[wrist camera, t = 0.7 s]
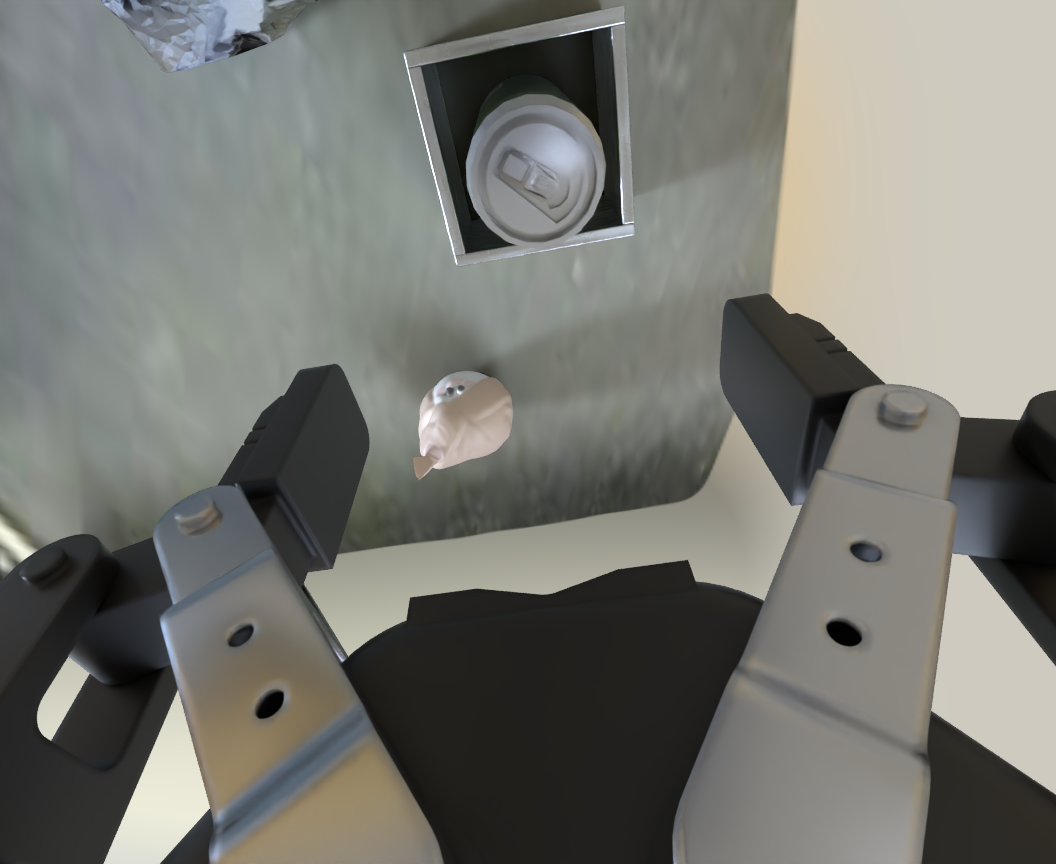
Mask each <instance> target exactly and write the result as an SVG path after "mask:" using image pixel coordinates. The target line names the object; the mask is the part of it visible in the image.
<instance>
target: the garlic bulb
mask: <svg viewBox="0 0 1056 864" xmlns="http://www.w3.org/2000/svg"><path fill="white" fill-rule="evenodd" d="M512 418H513V408H512V400H511V396H510V394H509V392H508V391H507V390H506V388H505V387H504V386H503V385H502V384H501V383H500V382H499V381H498V380H497V379H496V378H493V377H488V376H486V375H484V374H481V373H478V372H474V371H460V372H455V373H452V374H450V375H448V376H446V377H445V378H443V379H442V380H441V381H440V382H439V383H438V384H437V385H436V386H434V387H433V388H431V389H430V390H429V391H428V392H427V394H426V395H425V397H424V399H423V401H422V403H421V407H420V423H419V437H420V451H421V455H422V456H420V457H413V462H414V467H415V473H416V477H418V480H420V479H421V478H422V477H424V476H425V475H426V474H427V473H428V472H429V471H430V470H431V468H432V467H433V468H436V469H443V468H446V467H450V466H453V465H455V464H458V463H461V462H463V461H466V460H469V459H473V458H478V457H482V456H486V455H488V454H490V453H492V452H494V451H496V450H497V449H498V448H499V447H500V446H501V445H502V444H503V443H504V442H505V440H506V439H507V438H508V437H509V434H510V430H511V425H512Z"/></svg>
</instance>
